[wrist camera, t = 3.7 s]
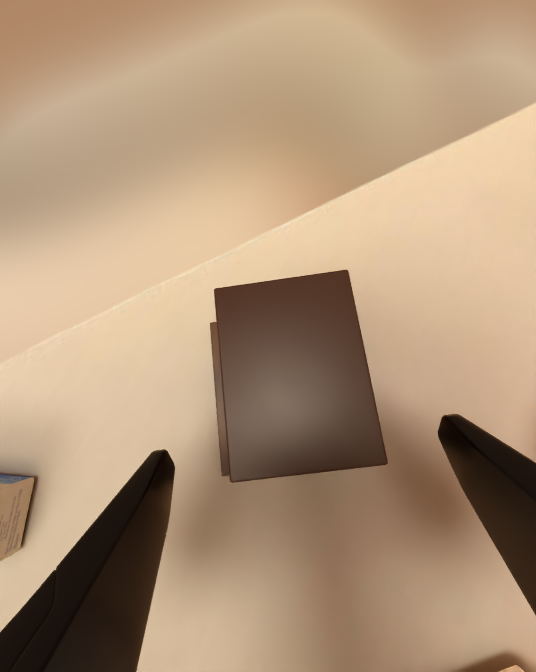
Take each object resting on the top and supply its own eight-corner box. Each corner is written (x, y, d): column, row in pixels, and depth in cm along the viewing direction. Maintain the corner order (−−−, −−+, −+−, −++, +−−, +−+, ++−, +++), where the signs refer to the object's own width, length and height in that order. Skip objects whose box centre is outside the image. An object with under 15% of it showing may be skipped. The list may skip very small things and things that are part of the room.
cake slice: (332, 428, 17) (389, 465, 8) (261, 437, 18) (229, 483, 8) (316, 336, 19) (348, 268, 9) (251, 345, 19) (213, 288, 9)
